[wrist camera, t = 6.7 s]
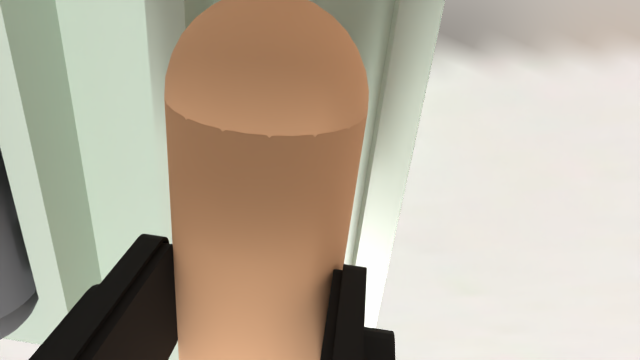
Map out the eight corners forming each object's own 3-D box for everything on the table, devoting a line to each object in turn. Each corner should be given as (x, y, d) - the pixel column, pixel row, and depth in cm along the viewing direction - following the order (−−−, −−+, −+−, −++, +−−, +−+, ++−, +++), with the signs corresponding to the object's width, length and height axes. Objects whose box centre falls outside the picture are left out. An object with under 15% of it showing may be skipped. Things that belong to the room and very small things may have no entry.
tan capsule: (201, -28, 10) (112, -15, 7) (381, -6, 10) (388, 20, 6) (208, 394, 17) (164, 516, 13) (317, 411, 16) (303, 539, 13)
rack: (-202, -221, 13) (-369, -268, 10) (459, -157, 12) (484, -188, 9) (-19, 316, 22) (-77, 372, 19) (354, 376, 21) (350, 444, 18)
